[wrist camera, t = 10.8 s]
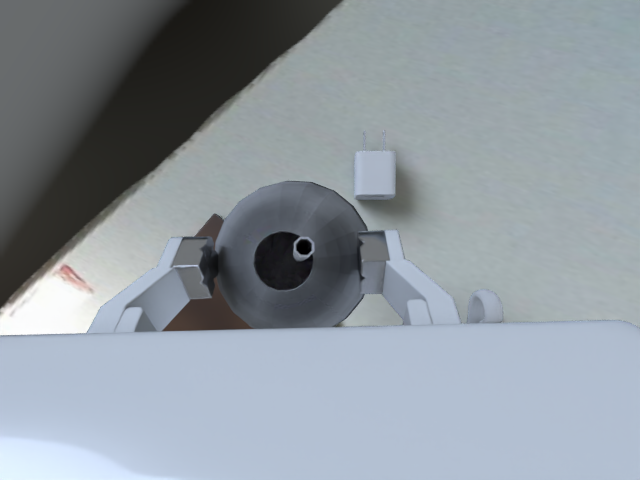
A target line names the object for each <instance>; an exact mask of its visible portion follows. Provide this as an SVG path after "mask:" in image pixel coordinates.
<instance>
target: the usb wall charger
mask: <svg viewBox="0 0 640 480" xmlns="http://www.w3.org/2000/svg"><path fill="white" fill-rule="evenodd" d="M395 176H396V152H394V151H385V130H384V132H383V151H365V131H364V140H363V151H358V152H356V154H355V158H354V199H356V200H388V199H392V198H393V197H394V196H395Z"/></svg>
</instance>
